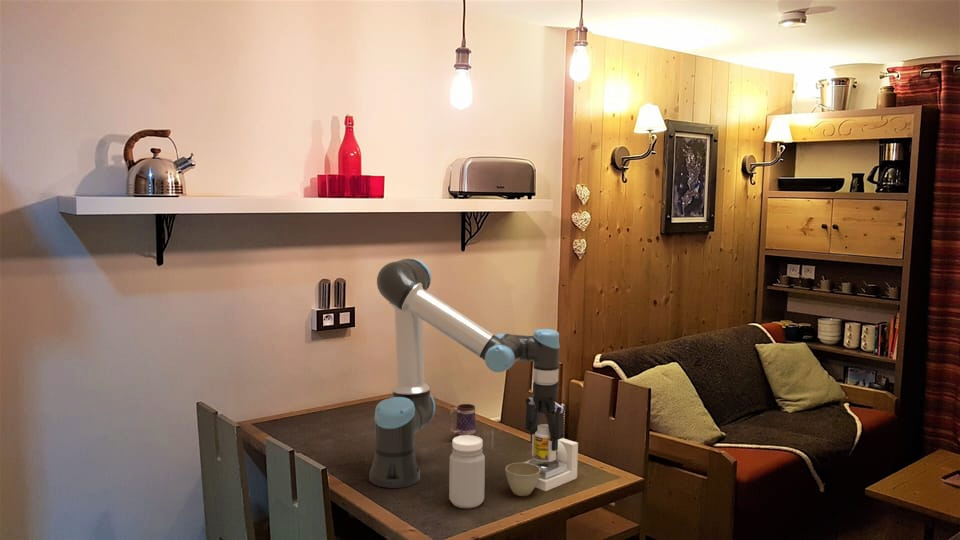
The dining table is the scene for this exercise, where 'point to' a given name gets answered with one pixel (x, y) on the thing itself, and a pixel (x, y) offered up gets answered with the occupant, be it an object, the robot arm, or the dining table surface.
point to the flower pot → (522, 477)
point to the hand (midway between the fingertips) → (543, 457)
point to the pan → (548, 467)
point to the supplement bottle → (541, 443)
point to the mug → (464, 420)
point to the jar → (467, 472)
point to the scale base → (566, 455)
